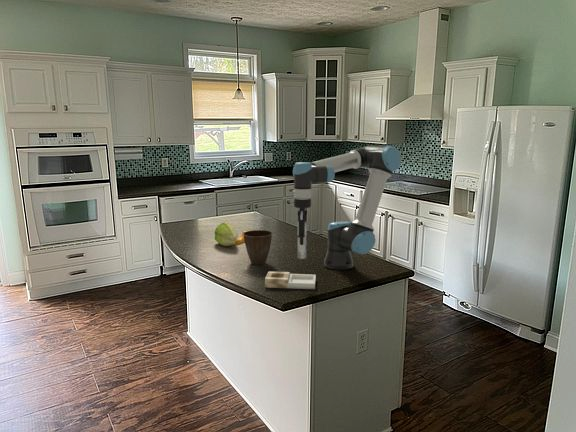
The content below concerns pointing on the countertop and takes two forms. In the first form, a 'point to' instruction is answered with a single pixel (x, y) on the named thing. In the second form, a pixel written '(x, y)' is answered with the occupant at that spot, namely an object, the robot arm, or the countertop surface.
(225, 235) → the lettuce
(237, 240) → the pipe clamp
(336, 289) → the countertop surface
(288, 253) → the countertop surface
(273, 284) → the beige square frame
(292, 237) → the countertop surface
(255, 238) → the plant pot
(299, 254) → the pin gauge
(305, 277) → the tray
